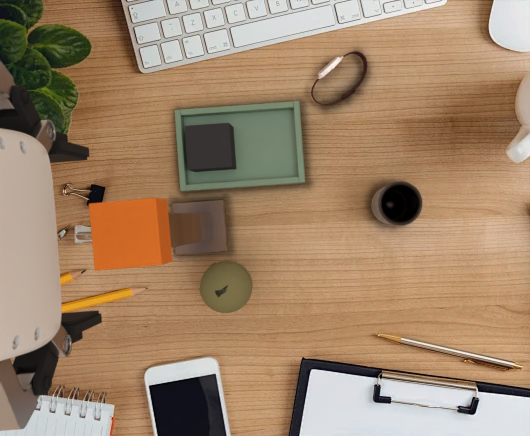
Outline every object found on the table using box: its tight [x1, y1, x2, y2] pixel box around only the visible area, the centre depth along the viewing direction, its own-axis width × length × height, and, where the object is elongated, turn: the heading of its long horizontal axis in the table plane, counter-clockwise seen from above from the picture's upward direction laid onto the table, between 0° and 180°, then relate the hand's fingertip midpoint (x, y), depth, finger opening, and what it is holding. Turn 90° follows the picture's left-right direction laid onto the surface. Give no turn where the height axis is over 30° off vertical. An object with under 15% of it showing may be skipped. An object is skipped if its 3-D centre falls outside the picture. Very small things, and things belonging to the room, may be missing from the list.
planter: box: [370, 180, 423, 227], centre depth 67 cm, size 4×4×10 cm
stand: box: [168, 199, 229, 256], centre depth 60 cm, size 6×6×24 cm
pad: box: [185, 123, 236, 172], centre depth 70 cm, size 5×5×3 cm
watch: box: [310, 50, 368, 107], centre depth 70 cm, size 8×5×4 cm, turn 132°
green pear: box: [199, 260, 254, 314], centre depth 67 cm, size 6×6×10 cm
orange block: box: [88, 197, 173, 272], centre depth 47 cm, size 5×5×3 cm
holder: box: [174, 100, 307, 193], centre depth 71 cm, size 14×9×2 cm, turn 94°
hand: (70, 236), depth 36 cm, fingers open, 9 cm apart
